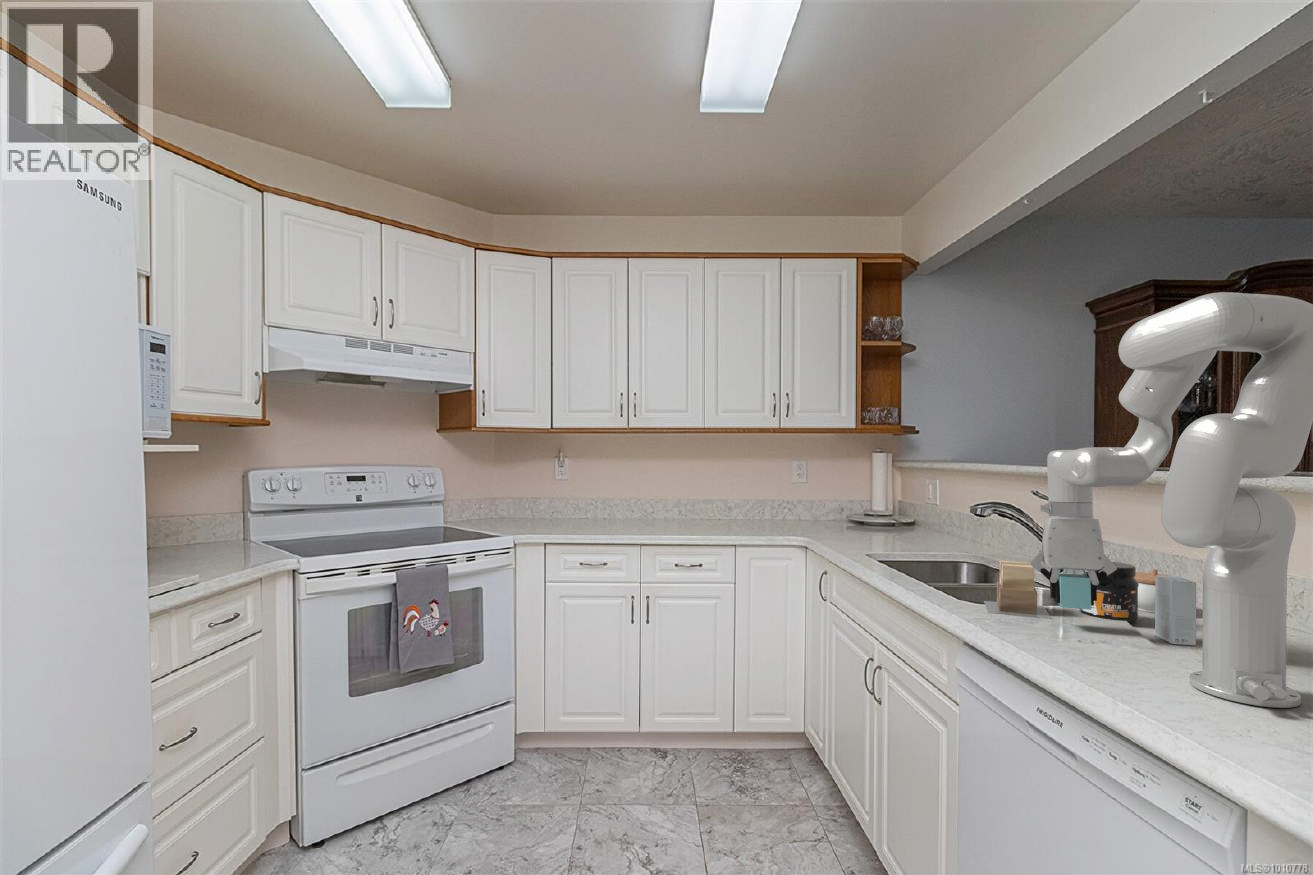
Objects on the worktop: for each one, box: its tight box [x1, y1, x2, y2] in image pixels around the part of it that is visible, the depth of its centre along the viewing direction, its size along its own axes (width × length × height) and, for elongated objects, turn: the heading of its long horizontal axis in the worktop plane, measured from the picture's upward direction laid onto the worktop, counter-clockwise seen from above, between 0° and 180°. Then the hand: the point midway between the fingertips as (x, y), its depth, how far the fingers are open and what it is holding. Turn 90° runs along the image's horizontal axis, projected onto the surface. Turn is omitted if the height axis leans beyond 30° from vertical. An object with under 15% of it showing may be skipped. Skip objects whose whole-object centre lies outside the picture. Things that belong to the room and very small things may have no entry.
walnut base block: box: [996, 581, 1038, 615], centre depth 145 cm, size 7×7×5 cm
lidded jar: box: [1134, 568, 1171, 614], centre depth 150 cm, size 11×11×9 cm
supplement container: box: [1079, 561, 1139, 625], centre depth 142 cm, size 10×10×12 cm
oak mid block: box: [999, 560, 1035, 591], centre depth 145 cm, size 6×6×5 cm
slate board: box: [983, 600, 1053, 620], centre depth 145 cm, size 12×12×1 cm
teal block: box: [1056, 573, 1091, 610], centre depth 130 cm, size 5×5×6 cm
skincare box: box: [1154, 575, 1197, 646], centre depth 127 cm, size 6×4×12 cm
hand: (1073, 602), depth 130 cm, fingers closed on teal block, 5 cm apart
